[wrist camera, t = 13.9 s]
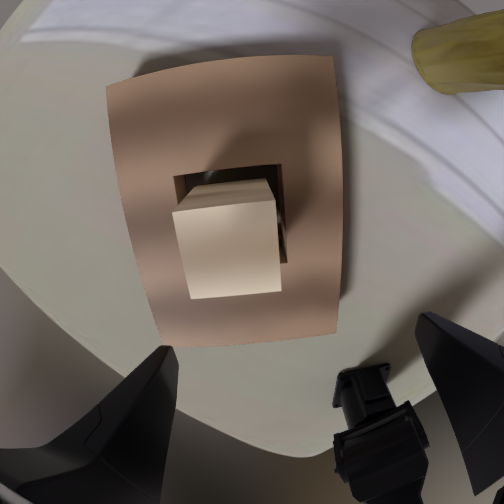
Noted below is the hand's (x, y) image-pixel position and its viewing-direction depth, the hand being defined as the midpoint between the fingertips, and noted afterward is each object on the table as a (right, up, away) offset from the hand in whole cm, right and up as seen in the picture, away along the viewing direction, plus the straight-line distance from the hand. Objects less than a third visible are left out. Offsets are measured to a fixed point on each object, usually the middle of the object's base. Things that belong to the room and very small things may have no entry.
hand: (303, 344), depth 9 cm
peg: (-3, +6, +11) cm, 13 cm away
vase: (+14, +19, +6) cm, 24 cm away
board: (-3, +6, +11) cm, 13 cm away
